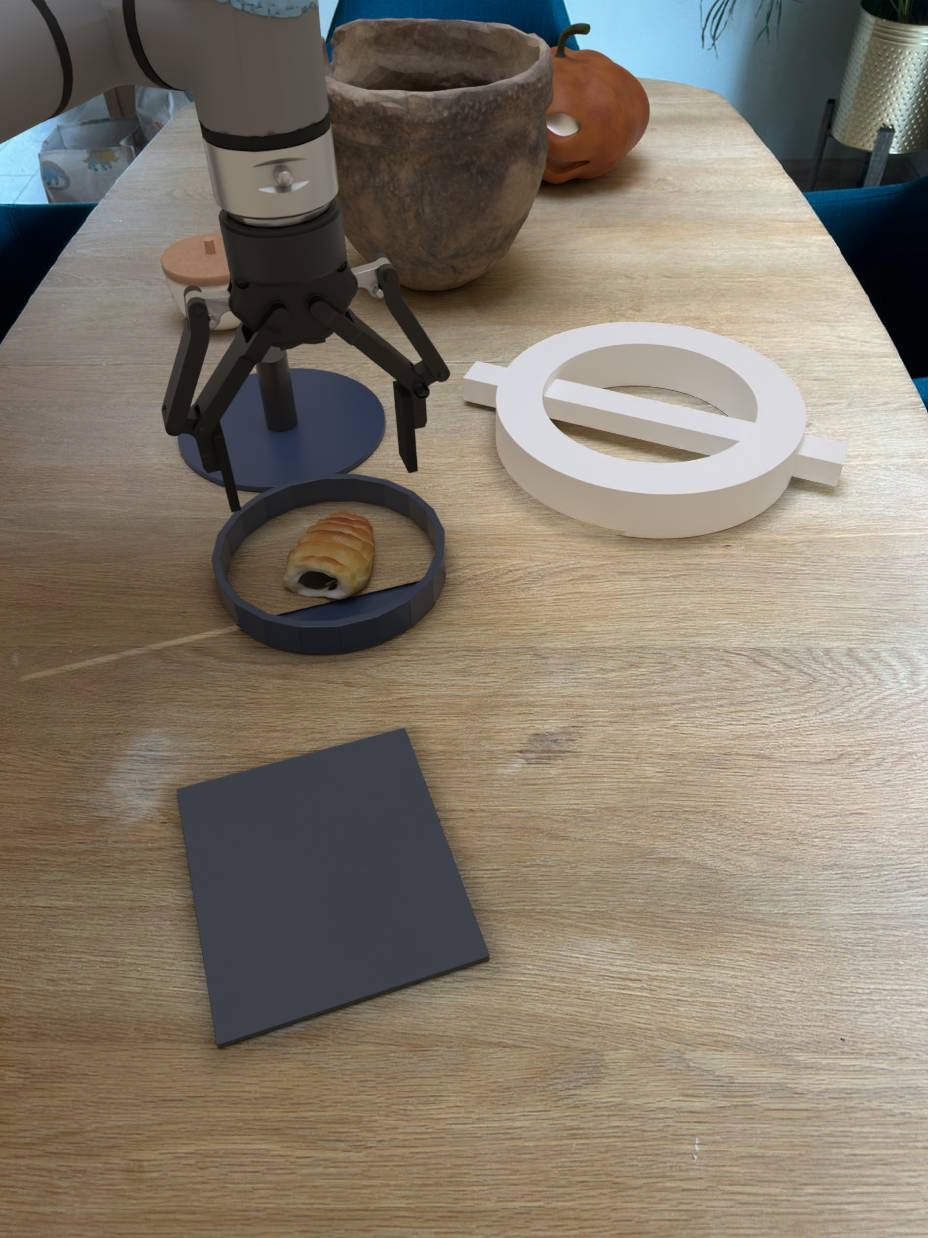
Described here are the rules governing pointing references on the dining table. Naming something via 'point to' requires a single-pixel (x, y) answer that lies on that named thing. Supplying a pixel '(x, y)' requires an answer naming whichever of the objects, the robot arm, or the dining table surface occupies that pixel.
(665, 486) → the white circle with bar
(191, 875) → the mat
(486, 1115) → the dining table surface
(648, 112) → the pumpkin
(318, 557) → the pastry
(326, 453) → the lid
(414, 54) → the clay pot
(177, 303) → the trinket box
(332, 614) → the dark blue ring
